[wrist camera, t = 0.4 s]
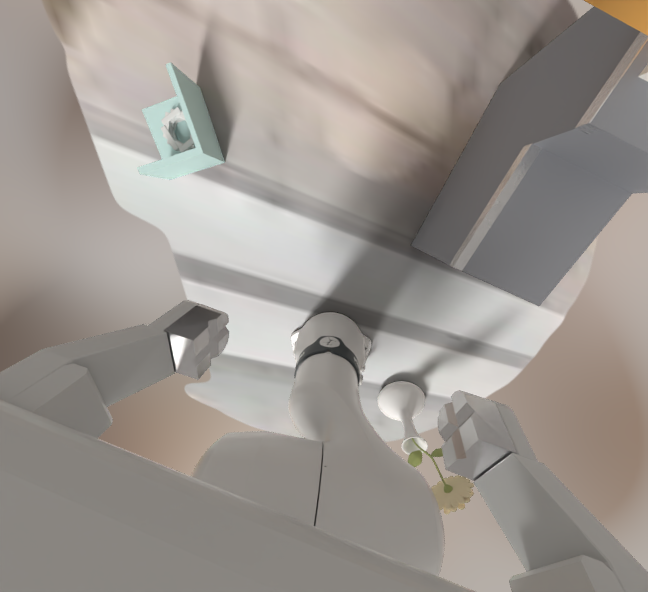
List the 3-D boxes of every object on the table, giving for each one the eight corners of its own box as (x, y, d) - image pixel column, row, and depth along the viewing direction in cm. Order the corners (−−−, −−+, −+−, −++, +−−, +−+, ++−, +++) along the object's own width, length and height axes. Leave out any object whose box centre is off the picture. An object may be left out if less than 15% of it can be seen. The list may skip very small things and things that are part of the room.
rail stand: (410, 245, 48) (479, 280, 23) (499, 83, 38) (773, -143, 14) (463, 269, 48) (584, 328, 24) (564, 116, 39) (932, -43, 15)
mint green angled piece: (200, 87, 42) (170, 62, 35) (225, 162, 46) (203, 153, 38) (141, 109, 44) (102, 90, 37) (170, 179, 47) (140, 174, 40)
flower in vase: (381, 416, 63) (403, 538, 39) (372, 381, 59) (390, 492, 36) (432, 408, 61) (488, 533, 37) (426, 372, 57) (483, 484, 34)
